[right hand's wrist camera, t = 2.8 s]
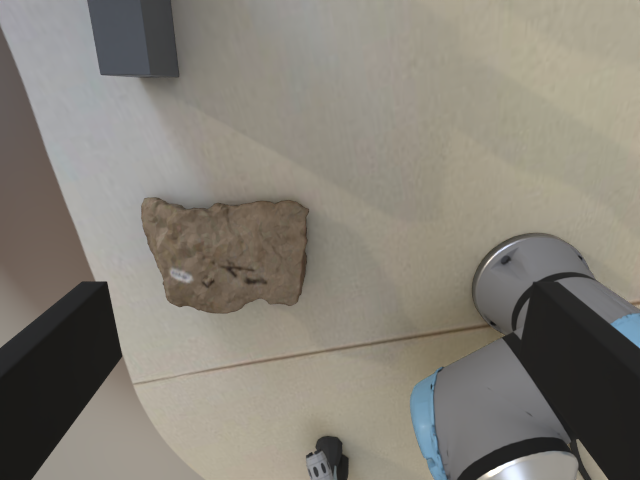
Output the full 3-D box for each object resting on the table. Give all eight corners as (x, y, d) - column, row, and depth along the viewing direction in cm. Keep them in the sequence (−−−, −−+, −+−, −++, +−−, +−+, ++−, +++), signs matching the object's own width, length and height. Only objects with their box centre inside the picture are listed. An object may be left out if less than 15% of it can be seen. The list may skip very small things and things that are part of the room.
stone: (149, 306, 55) (138, 321, 49) (145, 196, 53) (132, 198, 47) (303, 301, 59) (309, 314, 53) (304, 198, 57) (311, 200, 51)
